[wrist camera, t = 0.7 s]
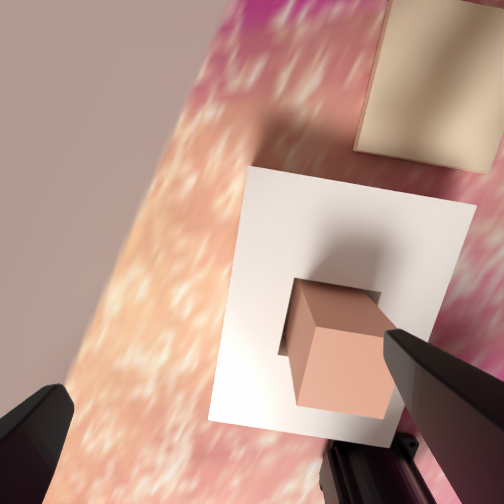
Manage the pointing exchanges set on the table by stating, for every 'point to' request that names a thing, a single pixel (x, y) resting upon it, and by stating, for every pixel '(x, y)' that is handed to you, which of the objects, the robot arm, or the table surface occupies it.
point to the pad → (436, 85)
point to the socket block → (328, 271)
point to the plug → (337, 349)
